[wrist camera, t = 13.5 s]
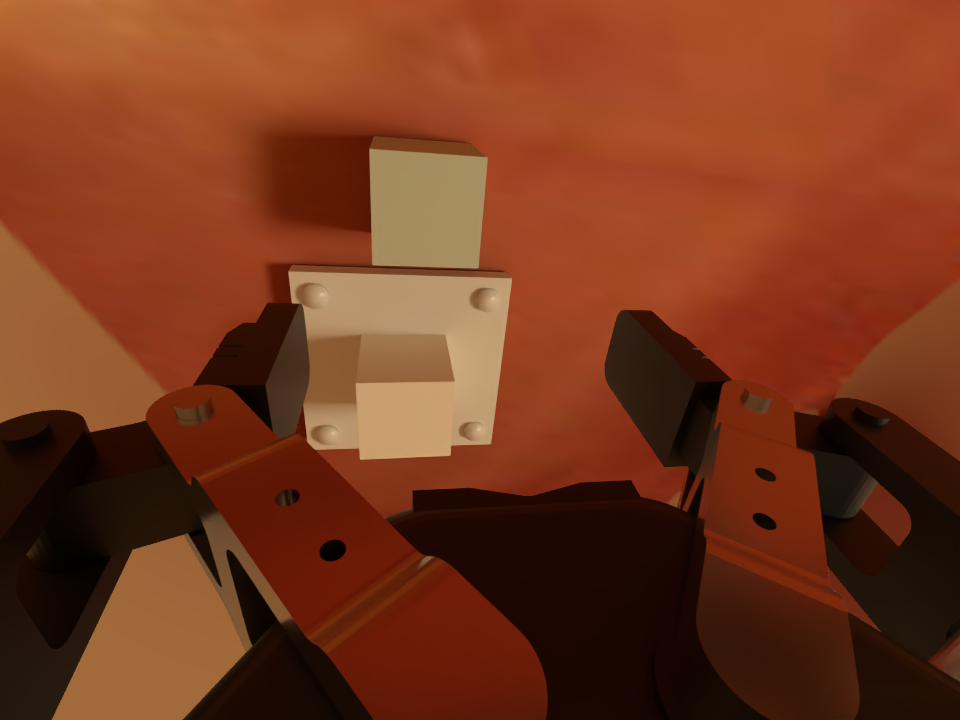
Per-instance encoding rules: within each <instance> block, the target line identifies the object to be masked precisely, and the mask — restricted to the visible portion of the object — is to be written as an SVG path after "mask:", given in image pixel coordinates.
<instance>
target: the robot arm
mask: <svg viewBox="0 0 960 720" xmlns="http://www.w3.org/2000/svg"><path fill="white" fill-rule="evenodd" d="M706 357H707V356H705V355H704V354H703V353H702V352H701V351H700V350H697V347H696V346H695V345H693V344H692V343H691V342H690V341H689V340H688V339H687V338H686V337H684V336H682V335H680V334H678V333H676V332H674V331H673V330H672V329H671V328H670V327H668V326H667V325H666V324H665V323H664V322H663V321H662V320H661V319H660V318H659V317H658V316H657V315H656V314H654V313H653V312H652V311H650V310H622V311H621V312H620V313H619V314H618V316H617V318H616V322H615V326H614V330H613V334H612V338H611V342H610V346H609V349H608V353H607V357H606V362H605V377H606V381H607V383H608V385H609V387H610V388H611V389H612V391H613V392H614V394H615V395H616V397H617V398H618V400H619V401H620V403H621V404H622V406H623V407H624V409H625V410H626V411H627V413H628V414H629V416H630V417H631V419H632V420H633V422H634V423H635V425H636V426H637V428H638V429H639V431H640V432H641V433H642V435H643V436H644V438H645V439H646V441H647V442H648V444H649V445H650V447H651V448H652V450H653V451H654V453H655V454H656V455H657V457H658V458H659V460H660V461H661V463H662V464H663V466H664V467H676V466H688V468H689V469H688V472H687V474H686V476H685V479H684V482H683V486H682V490H681V494H680V498H679V503H678V507H677V508H676V507H674V506H671V505H669V504H666V503H663V502H660V501H656V500H652V499H648V498H643V497H640V495H639V493H638V492H637V490H636V488H635V486H634V485H633V483H632V481H631V480H626V481H605V482H584V483H578V484H574V485H570V486H567V487H563V488H560V489H556V490H552V491H549V492H545V493H542V494H538V495H534V496H521V495H514V494H508V493H501V492H494V491H487V490H480V489H474V488H458V489H437V490H416V491H413V500H412V509H409V510H406V511H402V512H400V513H397V514H394V515H392V516H389V517H387V518H384V517H383V516H382V515H381V514H380V513H379V512H378V511H376V510H375V509H374V508H373V507H372V506H371V505H370V504H369V503H368V502H367V501H366V500H365V499H364V498H363V497H362V496H361V495H360V494H359V493H358V492H357V491H356V490H355V489H354V488H353V487H352V486H351V485H350V484H349V483H348V482H347V481H346V480H345V479H344V478H343V477H342V476H341V475H340V474H339V473H338V472H337V471H336V470H335V469H334V468H333V467H332V466H331V465H330V464H329V463H328V462H327V461H326V460H325V459H324V458H323V457H322V456H321V455H320V454H319V453H318V452H317V451H316V450H315V449H314V448H313V447H312V446H311V445H310V444H309V443H308V442H307V441H306V440H305V439H304V438H302V437H301V436H300V435H298V434H296V433H295V432H296V429H297V425H298V421H299V418H300V414H301V411H302V407H303V404H304V400H305V396H306V393H307V389H308V385H309V377H310V363H309V353H308V344H307V334H306V325H305V316H304V309H303V306H302V304H300V303H267V304H266V306H265V308H264V310H263V312H262V313H261V315H260V317H259V319H258V320H257V322H256V323H243V324H241V325H239V326H238V327H236V328H235V329H233V330H231V331H230V332H228V333H227V334H226V336H225V337H224V339H223V340H222V342H221V343H220V345H219V348H217V350H216V351H215V353H214V354H213V358H211V359H210V360H209V362H208V363H207V365H206V366H205V368H204V370H203V371H202V373H201V374H200V376H199V377H198V379H197V380H196V382H195V383H194V385H193V386H191V387H186V388H182V389H179V390H176V391H173V392H171V393H169V394H167V395H165V396H163V397H161V398H160V399H158V400H157V401H155V402H154V403H153V404H152V405H151V406H150V408H149V409H148V411H147V413H146V421H143V422H139V423H135V424H131V425H125V426H120V427H115V428H110V429H105V430H100V431H95V432H90V431H89V429H88V426H87V424H86V422H85V420H84V418H83V417H82V416H81V415H79V414H77V413H75V412H71V411H65V410H49V411H40V412H34V413H30V414H26V415H22V416H19V417H16V418H13V419H10V420H7V421H4V422H2V423H0V720H52V718H53V716H54V714H55V711H56V709H57V707H58V705H59V703H60V701H61V699H62V697H63V695H64V693H65V691H66V688H67V686H68V684H69V682H70V680H71V678H72V676H73V673H74V672H75V670H76V667H77V665H78V663H79V661H80V659H81V657H82V655H83V653H84V650H85V648H86V646H87V644H88V642H89V640H90V638H91V636H92V634H93V632H94V630H95V628H96V625H97V623H98V621H99V619H100V617H101V615H102V613H103V611H104V609H105V606H106V604H107V602H108V600H109V598H110V596H111V594H112V592H113V590H114V588H115V585H116V583H117V581H118V579H119V577H120V575H121V573H122V571H123V569H124V567H125V564H126V562H127V560H128V558H129V556H130V554H131V552H132V550H133V549H136V548H140V547H143V546H146V545H150V544H153V543H157V542H160V541H163V540H166V539H170V538H174V537H177V536H180V535H184V536H185V538H186V540H187V542H188V543H189V545H190V547H191V548H192V550H193V552H194V553H195V555H196V557H197V559H198V560H199V562H200V564H201V565H202V567H203V569H204V571H205V572H206V574H207V576H208V577H209V579H210V581H211V582H212V584H213V586H214V587H215V589H216V591H217V593H218V594H219V596H220V598H221V599H222V601H223V603H224V605H225V607H226V609H227V611H228V613H229V615H230V617H231V620H232V622H233V625H234V627H235V629H236V632H237V634H238V636H239V638H240V640H241V642H242V644H243V646H244V648H245V650H246V653H245V654H244V656H243V657H241V659H240V660H239V661H238V662H237V663H236V664H235V665H234V666H233V667H232V668H231V669H230V670H229V671H228V672H227V674H226V675H225V676H224V677H223V678H222V679H221V680H220V681H219V682H218V683H217V684H216V685H215V686H214V687H213V688H212V689H211V690H210V691H209V692H208V694H207V695H206V696H205V697H204V698H203V699H202V700H201V701H200V702H199V703H198V704H197V705H196V706H195V707H194V708H193V709H192V710H191V712H190V713H189V714H188V715H187V716H186V717H185V718H184V719H183V720H960V461H958V460H957V459H956V458H954V457H953V456H951V455H950V454H949V453H947V452H946V451H945V450H943V449H942V448H940V447H939V446H937V445H936V444H935V443H934V442H932V441H931V440H929V439H928V438H927V437H925V436H924V435H922V434H921V433H920V432H918V431H917V430H916V429H914V428H913V427H911V426H910V425H909V424H907V423H906V422H905V421H903V420H902V419H900V418H899V417H898V416H896V415H895V414H893V413H891V412H889V411H887V410H885V409H883V408H881V407H879V406H876V405H874V404H871V403H868V402H865V401H861V400H857V399H851V398H838V399H835V400H833V401H832V402H831V404H830V405H829V407H828V409H827V411H826V413H825V414H824V416H823V417H821V416H816V415H810V414H804V413H799V412H794V408H793V405H792V403H791V402H790V401H789V400H788V399H787V398H786V397H785V396H783V395H782V394H781V393H779V392H777V391H776V390H774V389H772V388H769V387H767V386H765V385H762V384H759V383H755V382H751V381H746V380H732V379H731V378H730V377H729V376H727V375H726V374H725V373H724V372H723V371H722V370H721V369H720V368H719V367H718V366H716V365H715V364H714V363H713V362H712V361H711V360H710V359H707V358H706ZM877 483H879V484H880V485H882V486H883V487H884V488H885V489H886V490H887V491H888V492H889V493H890V494H891V495H893V496H894V497H895V498H896V499H897V500H898V501H899V502H900V503H901V504H902V505H903V506H904V507H905V508H906V509H907V511H908V513H909V515H910V518H911V525H912V526H911V531H910V533H909V535H908V536H907V537H906V538H905V540H904V541H903V542H902V544H901V545H900V546H899V547H898V546H897V545H896V544H895V543H894V542H893V540H892V539H890V537H889V536H888V535H887V534H886V533H884V532H883V531H882V530H881V529H880V527H879V526H878V525H876V523H875V522H874V521H872V519H871V518H870V517H869V516H868V515H867V514H865V512H864V511H863V510H862V509H861V507H862V505H863V504H864V502H865V501H866V500H867V498H868V497H869V495H870V494H871V492H872V491H873V489H874V488H875V486H876V485H877ZM827 566H828V567H829V568H830V570H831V571H832V572H833V573H834V574H835V576H836V577H837V578H838V579H839V581H840V582H841V583H842V584H843V586H844V587H845V588H846V589H847V591H848V592H849V593H850V594H851V595H852V597H853V598H854V599H855V600H856V602H857V603H858V604H859V605H860V607H861V608H862V609H863V610H864V612H865V613H866V614H867V615H868V616H869V618H870V619H871V620H872V621H873V623H874V624H875V625H876V626H877V628H878V629H879V630H880V631H881V632H880V631H878V630H876V629H875V628H873V627H872V626H870V625H868V624H867V623H865V622H864V621H862V620H860V619H859V618H857V617H856V616H854V615H852V614H851V613H849V612H848V611H847V607H846V604H845V601H844V599H843V598H842V596H841V595H840V594H838V593H836V592H834V591H833V590H832V589H831V586H830V583H829V576H828V567H827Z"/></svg>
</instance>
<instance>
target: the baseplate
mask: <svg viewBox="0 0 960 720" xmlns="http://www.w3.org/2000/svg"><path fill="white" fill-rule="evenodd" d="M288 273H289V282H290V291H291V300H292V303H300V304H302V306H303V309H304V316H305V325H306V334H307V344H308V353H309V363H310V377H309V385H308V389H307V393H306V396H305V400H304V404H303V407H304V416H305V425H306V433H307V442H308V443H309V444H310V445H311V446H312V447H313V448H314V449H315V450H319V449H350V448H359V432H358V415H357V399H356V376H357V368H358V360H359V352H360V344H361V336H362V335H446V340H447V345H448V350H449V355H450V360H451V365H452V370H453V375H454V380H455V388H454V404H453V420H452V436H451V445H477V444H491V439H492V431H493V423H494V416H495V408H496V400H497V392H498V384H499V377H500V369H501V361H502V353H503V345H504V337H505V330H506V322H507V314H508V306H509V298H510V291H511V283H512V278H511V276H510V274H509V273H508V272H486V271H456V270H427V269H397V268H368V267H338V266H309V265H292V266H291V267H290V269H289V271H288Z"/></svg>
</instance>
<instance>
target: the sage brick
mask: <svg viewBox="0 0 960 720" xmlns="http://www.w3.org/2000/svg"><path fill="white" fill-rule="evenodd" d="M369 156H370V193H371V230H372V265H383V266H416V267H449V268H478V265H479V253H480V241H481V230H482V218H483V206H484V195H485V183H486V171H487V160H488V157H487V156H485V155H484V154H483V153H482V152H480V151H479V150H478V149H477V148H476V147H474V146H473V145H472V144H471V143H458V142H445V141H432V140H419V139H406V138H393V137H380V136H374V137H373V140H372V143H371V145H370V148H369Z"/></svg>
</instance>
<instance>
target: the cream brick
mask: <svg viewBox="0 0 960 720" xmlns="http://www.w3.org/2000/svg"><path fill="white" fill-rule="evenodd" d="M454 388H455V380H454V375H453V370H452V365H451V360H450V355H449V350H448V345H447V340H446V335H362V336H361V344H360V352H359V360H358V368H357V376H356V399H357V415H358V432H359V449H360V460H362V459H385V458H408V457H431V456H450V453H451V436H452V420H453V404H454Z"/></svg>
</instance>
